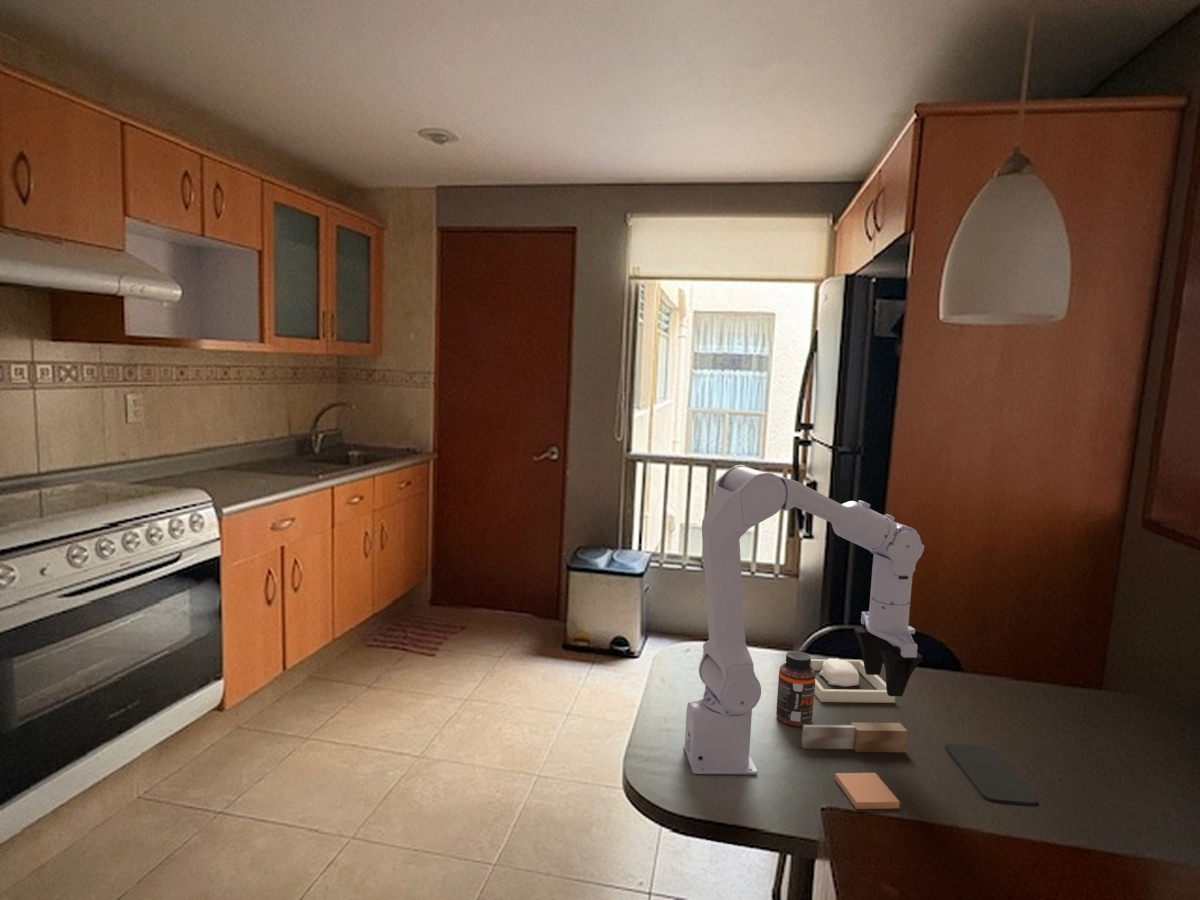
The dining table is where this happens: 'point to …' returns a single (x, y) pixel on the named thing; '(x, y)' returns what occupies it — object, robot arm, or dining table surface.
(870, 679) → the garlic dish rim
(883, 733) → the scraper
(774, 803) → the dining table surface
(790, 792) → the dining table surface
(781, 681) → the supplement bottle
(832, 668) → the white rounded lump
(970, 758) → the phone
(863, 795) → the tile
